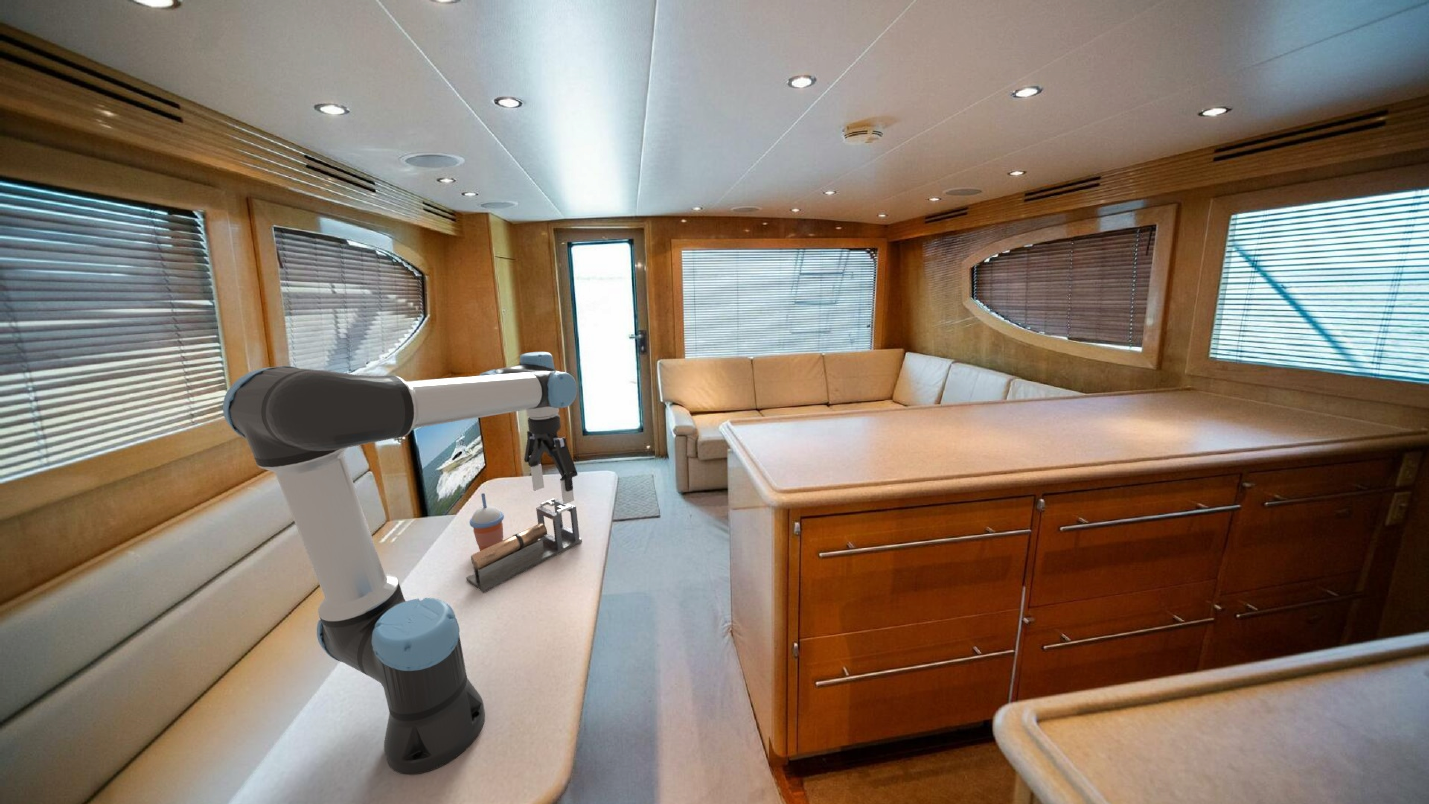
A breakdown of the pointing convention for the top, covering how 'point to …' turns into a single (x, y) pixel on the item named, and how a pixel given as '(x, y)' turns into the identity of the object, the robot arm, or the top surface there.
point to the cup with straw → (487, 525)
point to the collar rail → (531, 549)
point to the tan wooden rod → (508, 546)
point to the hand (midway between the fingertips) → (553, 495)
